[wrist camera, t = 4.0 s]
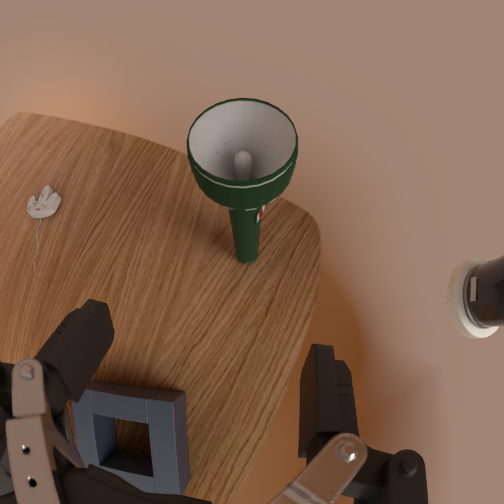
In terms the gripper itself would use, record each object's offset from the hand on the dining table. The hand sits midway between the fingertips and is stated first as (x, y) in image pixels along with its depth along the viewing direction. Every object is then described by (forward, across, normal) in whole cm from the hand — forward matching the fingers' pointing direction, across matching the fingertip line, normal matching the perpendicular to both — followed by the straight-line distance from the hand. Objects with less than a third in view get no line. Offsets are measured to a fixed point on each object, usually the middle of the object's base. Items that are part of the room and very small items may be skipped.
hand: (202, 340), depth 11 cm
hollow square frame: (+4, +8, +23) cm, 25 cm away
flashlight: (+20, 0, +8) cm, 21 cm away
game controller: (+19, +28, +8) cm, 35 cm away
